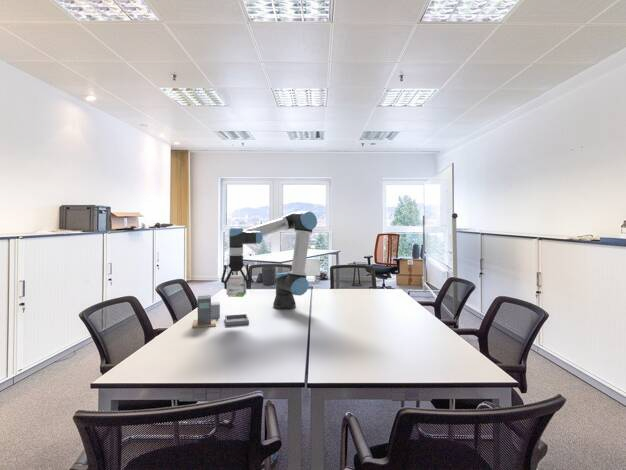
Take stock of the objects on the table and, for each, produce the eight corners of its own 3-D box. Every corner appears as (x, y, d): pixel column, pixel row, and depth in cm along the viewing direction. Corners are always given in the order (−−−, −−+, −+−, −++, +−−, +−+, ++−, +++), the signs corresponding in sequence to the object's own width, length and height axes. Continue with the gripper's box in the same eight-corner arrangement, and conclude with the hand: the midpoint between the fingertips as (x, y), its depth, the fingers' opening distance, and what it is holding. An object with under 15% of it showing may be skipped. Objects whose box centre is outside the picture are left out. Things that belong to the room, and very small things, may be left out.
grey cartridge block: (219, 315, 209) (219, 302, 208) (219, 317, 203) (219, 304, 203) (211, 315, 207) (211, 302, 207) (211, 318, 202) (211, 305, 201)
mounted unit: (215, 320, 197) (215, 294, 197) (215, 326, 186) (215, 298, 185) (193, 321, 194) (193, 295, 193) (192, 328, 182) (192, 300, 182)
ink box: (244, 295, 196) (244, 274, 195) (242, 297, 191) (242, 276, 190) (230, 295, 196) (230, 274, 196) (227, 296, 191) (227, 276, 191)
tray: (246, 317, 202) (246, 313, 202) (248, 324, 189) (248, 320, 189) (225, 319, 199) (225, 315, 199) (226, 326, 186) (225, 322, 186)
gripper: (254, 253, 199) (255, 291, 200) (215, 254, 193) (216, 293, 194) (256, 255, 192) (256, 294, 193) (216, 256, 186) (216, 296, 187)
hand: (236, 294), depth 193 cm, fingers closed on ink box, 9 cm apart
